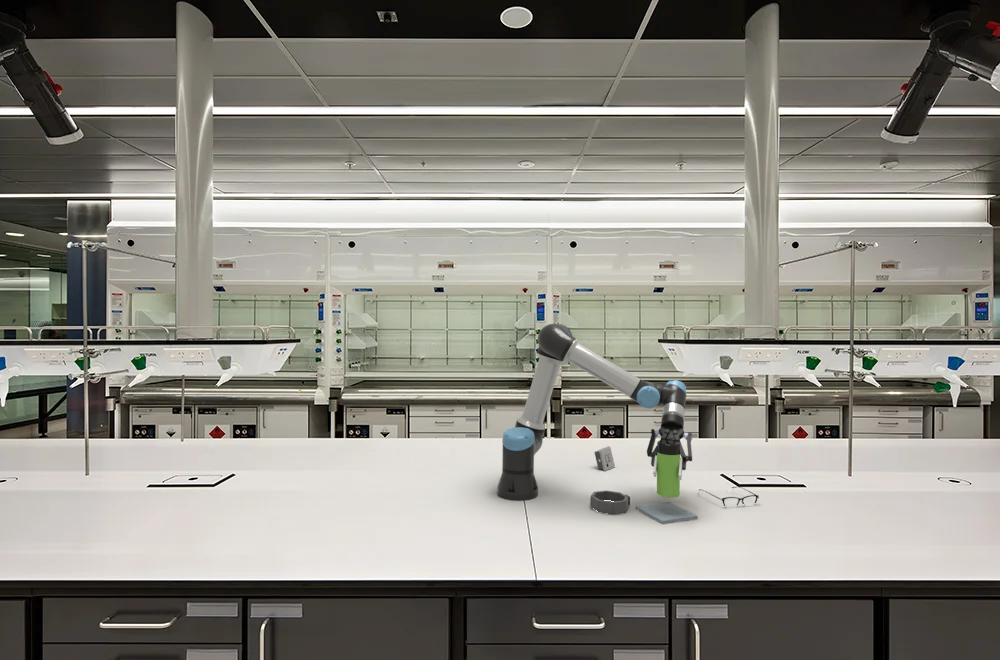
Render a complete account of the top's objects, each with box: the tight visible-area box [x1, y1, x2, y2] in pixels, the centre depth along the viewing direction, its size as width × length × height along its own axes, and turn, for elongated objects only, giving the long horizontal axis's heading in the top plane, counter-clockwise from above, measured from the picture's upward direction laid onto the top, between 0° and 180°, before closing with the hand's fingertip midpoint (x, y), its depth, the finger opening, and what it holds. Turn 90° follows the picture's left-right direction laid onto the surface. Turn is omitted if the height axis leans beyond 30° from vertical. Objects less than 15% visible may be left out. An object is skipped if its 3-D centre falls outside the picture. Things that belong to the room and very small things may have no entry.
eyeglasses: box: [698, 486, 760, 506], centre depth 190 cm, size 16×16×4 cm
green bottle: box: [656, 440, 681, 499], centre depth 174 cm, size 7×7×17 cm
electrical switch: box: [594, 446, 616, 472], centre depth 230 cm, size 9×5×9 cm, turn 141°
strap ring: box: [589, 490, 631, 515], centre depth 179 cm, size 14×12×4 cm
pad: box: [635, 501, 699, 525], centre depth 174 cm, size 14×14×1 cm
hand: (667, 476), depth 171 cm, fingers closed on green bottle, 7 cm apart
